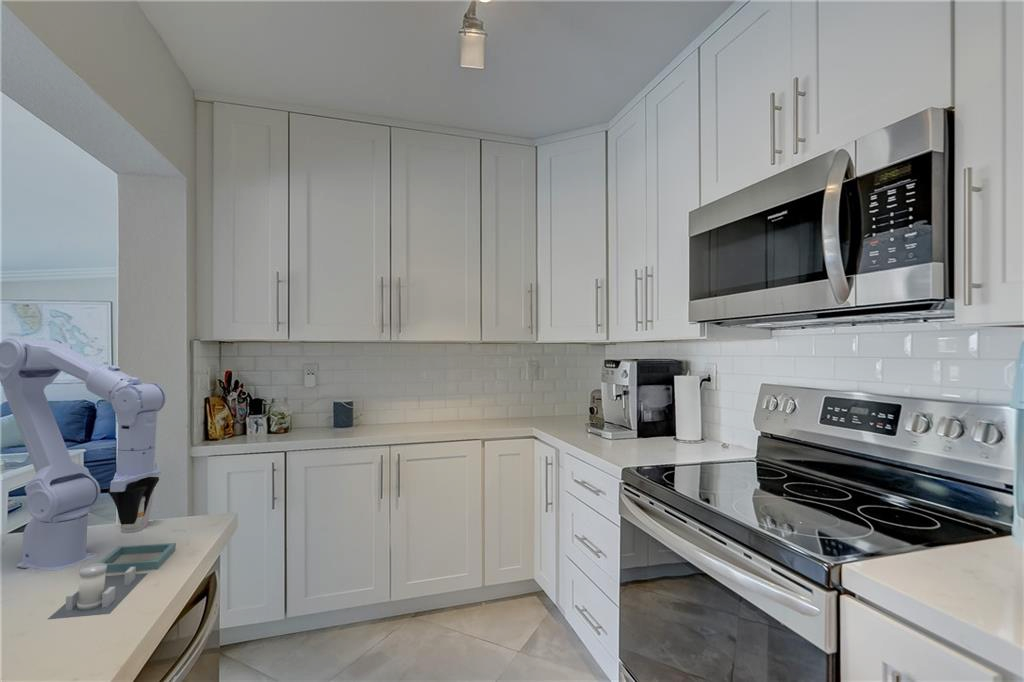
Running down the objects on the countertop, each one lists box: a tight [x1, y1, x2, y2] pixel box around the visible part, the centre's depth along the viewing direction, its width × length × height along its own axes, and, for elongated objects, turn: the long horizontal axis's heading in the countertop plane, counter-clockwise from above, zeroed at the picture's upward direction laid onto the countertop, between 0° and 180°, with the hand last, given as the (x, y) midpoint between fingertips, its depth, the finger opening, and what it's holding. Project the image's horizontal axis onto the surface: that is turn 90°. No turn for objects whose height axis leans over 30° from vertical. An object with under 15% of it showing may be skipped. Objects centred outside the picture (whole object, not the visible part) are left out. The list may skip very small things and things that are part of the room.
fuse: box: [77, 562, 107, 610], centre depth 83 cm, size 3×3×6 cm
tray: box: [98, 542, 177, 574], centre depth 100 cm, size 10×10×2 cm
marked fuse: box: [120, 496, 145, 534], centre depth 97 cm, size 3×3×6 cm
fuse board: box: [47, 567, 149, 620], centre depth 86 cm, size 15×8×3 cm, turn 16°
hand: (132, 520), depth 97 cm, fingers closed on marked fuse, 3 cm apart
